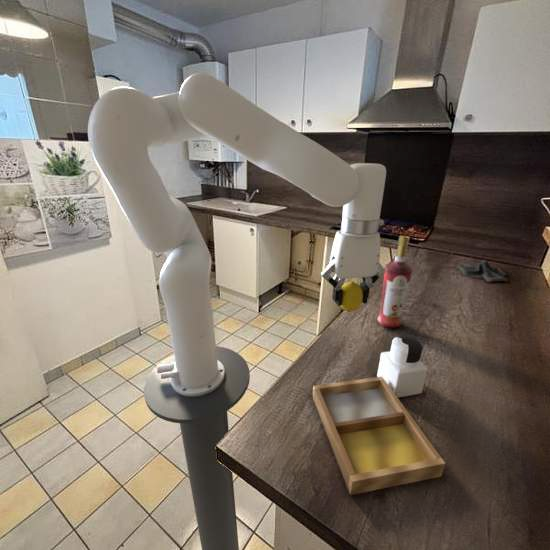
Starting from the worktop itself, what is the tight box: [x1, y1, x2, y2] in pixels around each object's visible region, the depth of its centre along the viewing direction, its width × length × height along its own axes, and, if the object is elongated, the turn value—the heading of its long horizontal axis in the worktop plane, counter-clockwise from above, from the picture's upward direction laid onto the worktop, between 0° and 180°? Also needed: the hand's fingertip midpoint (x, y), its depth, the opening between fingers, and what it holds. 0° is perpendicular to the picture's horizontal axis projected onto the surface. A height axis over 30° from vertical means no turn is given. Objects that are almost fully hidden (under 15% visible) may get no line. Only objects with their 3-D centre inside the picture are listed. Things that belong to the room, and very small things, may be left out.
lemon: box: [340, 280, 363, 313], centre depth 68 cm, size 6×6×8 cm
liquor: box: [377, 235, 413, 329], centre depth 85 cm, size 7×7×28 cm
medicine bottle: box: [376, 335, 429, 399], centre depth 65 cm, size 7×7×12 cm
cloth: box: [458, 259, 509, 283], centre depth 128 cm, size 22×19×6 cm
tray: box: [312, 376, 446, 496], centre depth 55 cm, size 16×20×3 cm
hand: (349, 301), depth 68 cm, fingers closed on lemon, 5 cm apart
